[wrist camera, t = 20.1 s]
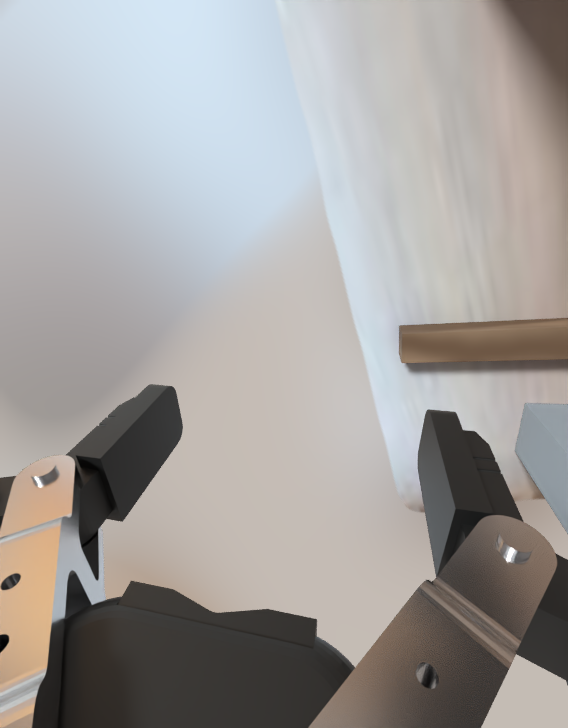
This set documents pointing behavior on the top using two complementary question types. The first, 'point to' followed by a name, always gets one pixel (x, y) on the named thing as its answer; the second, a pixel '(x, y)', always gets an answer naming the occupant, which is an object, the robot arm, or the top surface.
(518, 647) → the robot arm
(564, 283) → the top surface
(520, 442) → the painted stand
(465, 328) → the walnut batten
